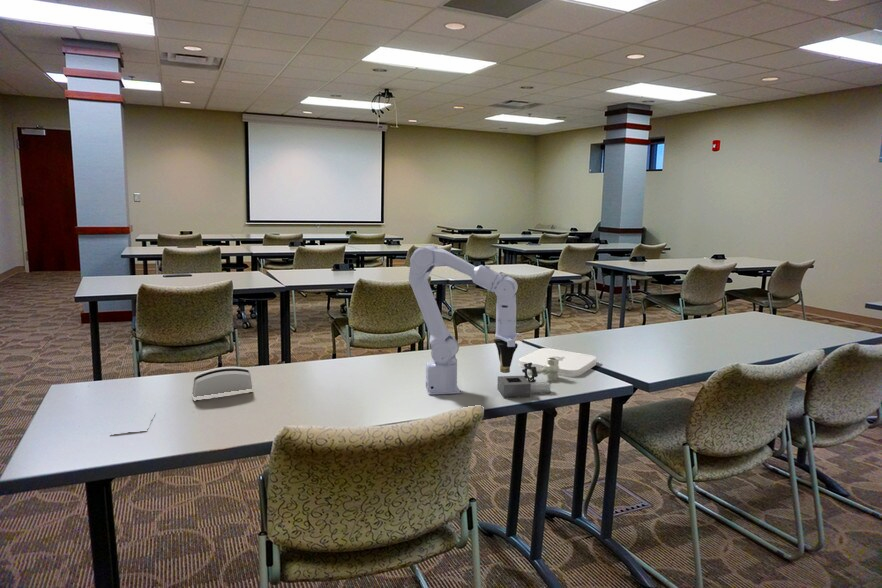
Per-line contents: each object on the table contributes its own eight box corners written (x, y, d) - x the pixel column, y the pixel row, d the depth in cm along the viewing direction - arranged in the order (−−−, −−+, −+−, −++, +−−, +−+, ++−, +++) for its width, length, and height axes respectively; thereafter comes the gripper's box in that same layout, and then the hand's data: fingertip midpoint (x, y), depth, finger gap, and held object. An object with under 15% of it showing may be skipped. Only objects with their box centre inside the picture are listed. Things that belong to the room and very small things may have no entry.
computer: (515, 367, 192) (515, 360, 192) (542, 354, 210) (542, 347, 210) (575, 379, 180) (575, 371, 179) (599, 363, 198) (599, 356, 197)
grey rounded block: (250, 387, 170) (251, 360, 165) (253, 397, 166) (253, 369, 162) (191, 396, 162) (189, 368, 157) (192, 406, 158) (191, 378, 154)
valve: (550, 374, 184) (521, 380, 178) (551, 355, 183) (522, 360, 177) (564, 380, 178) (535, 386, 172) (564, 360, 177) (535, 365, 171)
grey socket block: (503, 398, 161) (503, 384, 160) (497, 389, 169) (497, 376, 168) (553, 396, 163) (553, 382, 162) (544, 387, 171) (545, 374, 170)
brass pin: (501, 373, 160) (502, 353, 159) (498, 370, 163) (499, 350, 162) (511, 372, 161) (511, 352, 160) (508, 369, 163) (508, 350, 162)
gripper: (526, 324, 153) (525, 371, 155) (513, 314, 167) (512, 357, 169) (501, 324, 152) (500, 372, 154) (490, 314, 166) (489, 358, 168)
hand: (505, 364), depth 161 cm, fingers closed on brass pin, 3 cm apart
